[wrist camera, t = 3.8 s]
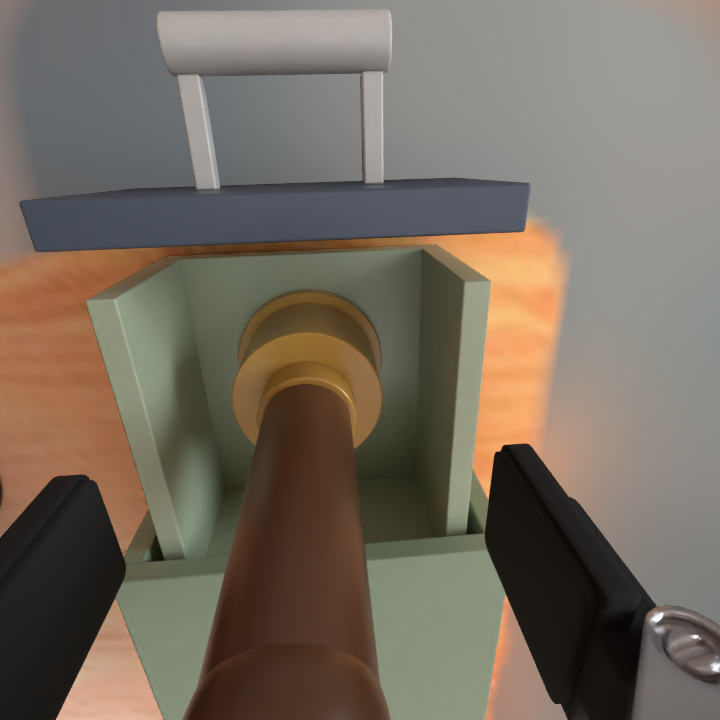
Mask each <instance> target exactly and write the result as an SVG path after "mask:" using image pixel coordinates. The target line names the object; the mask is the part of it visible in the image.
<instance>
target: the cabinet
mask: <svg viewBox="0 0 720 720" xmlns="http://www.w3.org/2000/svg"><path fill="white" fill-rule="evenodd" d="M488 502H489V500H488V498H487V496H486V494H485V492H484V490H483V488H482V486H481V484H480V482H479V480H478V478H477V476H476V474H475V472H474V470H473V469H472V479H471V489H470V499H469V510H468V520H467V530H466V535H459V536H447V537H435V538H424V539H412V540H400V541H389V542H377V543H365V552H366V561H367V570H368V579H369V588H370V597H371V606H372V615H373V624H374V633H375V642H376V651H377V660H378V669H379V678H380V685H381V688H382V690H383V693H384V696H385V699H386V702H387V706H388V709H389V713H390V719H391V720H485V716H486V709H487V703H488V697H489V691H490V685H491V679H492V673H493V667H494V661H495V655H496V649H497V643H498V636H499V630H500V624H501V618H502V612H503V606H504V600H505V594H506V593H505V591H504V588H503V586H502V584H501V581H500V579H499V576H498V574H497V572H496V569H495V567H494V565H493V562H492V560H491V558H490V555H489V553H488V550H487V548H486V544H485V526H486V518H487V510H488ZM228 558H229V555H225V556H213V557H201V558H189V559H178V560H166V561H165V560H164V557H163V554H162V551H161V547H160V544H159V541H158V537H157V534H156V531H155V528H154V524H153V521H152V518H151V515H150V511H149V509H148V511H147V513H146V515H145V517H144V519H143V521H142V523H141V525H140V527H139V529H138V531H137V532H136V534H135V536H134V538H133V540H132V542H131V544H130V546H129V548H128V550H127V552H126V554H125V556H124V560H125V563H126V574H125V578H124V581H123V583H122V585H121V587H120V589H119V591H118V593H117V595H116V600H117V602H118V605H119V607H120V610H121V612H122V615H123V618H124V620H125V623H126V625H127V628H128V630H129V633H130V635H131V638H132V641H133V643H134V646H135V648H136V651H137V653H138V656H139V658H140V661H141V663H142V666H143V669H144V671H145V674H146V676H147V679H148V681H149V684H150V686H151V689H152V692H153V694H154V697H155V699H156V702H157V704H158V707H159V709H160V712H161V715H162V717H163V720H182V719H183V716H184V714H185V712H186V710H187V707H188V705H189V703H190V701H191V699H192V697H193V694H194V693H195V691H196V689H197V685H198V681H199V677H200V673H201V669H202V665H203V660H204V656H205V652H206V648H207V644H208V640H209V636H210V632H211V628H212V623H213V619H214V615H215V611H216V607H217V603H218V599H219V595H220V591H221V586H222V582H223V578H224V574H225V570H226V566H227V562H228Z"/></svg>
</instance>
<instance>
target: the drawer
mask: <svg viewBox="0 0 720 720" xmlns="http://www.w3.org/2000/svg"><path fill="white" fill-rule="evenodd" d="M156 28H157V37H158V42H159V46H160V50H161V54H162V57H163V60H164V62H165V65H166V67H167V69H168V70H169V72H170V73H171V74H172V75H173V76H175V77H177V81H178V87H179V93H180V98H181V104H182V110H183V116H184V121H185V127H186V133H187V139H188V144H189V150H190V156H191V161H192V167H193V172H194V179H195V184H196V187H171V188H141V189H140V188H139V189H127V190H118V191H108V192H99V193H90V194H80V195H71V196H61V197H52V198H42V199H34V200H24V201H21V202H20V207H21V210H22V213H23V216H24V219H25V222H26V225H27V228H28V231H29V234H30V237H31V240H32V243H33V246H34V249H35V251H36V252H60V251H83V250H107V249H131V248H155V247H178V246H202V245H226V244H250V243H274V242H297V241H321V240H345V239H369V238H392V237H416V236H440V235H464V234H488V233H511V232H523V231H524V230H525V225H526V217H527V209H528V201H529V194H530V184H529V183H520V182H506V181H492V180H477V179H463V178H436V179H435V178H434V179H407V180H406V179H405V180H384V162H383V160H384V159H383V73H386V72H388V71H389V68H390V63H391V54H392V19H391V14H390V11H389V10H387V9H373V10H372V9H363V10H362V9H361V10H260V11H259V10H257V11H161V12H159V13H158V14H157V18H156ZM350 73H362V74H361V77H360V88H361V130H362V171H363V181H348V182H347V181H345V182H318V183H317V182H316V183H286V184H257V185H228V186H220V182H219V176H218V169H217V163H216V156H215V149H214V143H213V136H212V130H211V124H210V117H209V110H208V104H207V97H206V91H205V84H204V79H203V78H202V77H201V76H244V75H298V74H350ZM301 289H318V290H325V291H329V292H332V293H335V294H338V295H340V296H342V297H344V298H346V299H348V300H350V301H351V302H353V303H354V304H355V305H357V306H358V307H359V308H360V309H361V310H362V311H363V312H364V313H365V314H366V315H367V317H368V318H369V319H370V321H371V323H372V324H373V326H374V328H375V330H376V333H377V335H378V338H379V342H380V346H381V353H382V364H381V370H380V375H379V378H380V382H381V387H382V394H383V401H382V409H381V414H380V416H379V419H378V422H377V424H376V426H375V427H374V429H373V431H372V432H371V433H370V435H369V436H368V437H367V438H366V439H365V441H364V442H363V443H362V444H360V445H359V446H358V447H357V448H355V449H354V453H355V462H356V471H357V480H358V489H359V498H360V507H361V516H362V525H363V534H364V543H377V542H389V541H400V540H412V539H424V538H435V537H447V536H459V535H466V530H467V520H468V510H469V499H470V489H471V479H472V469H473V459H474V449H475V439H476V429H477V419H478V409H479V399H480V389H481V379H482V369H483V359H484V349H485V339H486V329H487V319H488V309H489V299H490V289H491V281H490V280H489V279H487V278H486V277H484V276H483V275H481V274H480V273H478V272H477V271H475V270H474V269H472V268H471V267H469V266H468V265H466V264H465V263H463V262H462V261H460V260H459V259H457V258H456V257H454V256H453V255H452V254H450V253H449V252H447V251H446V250H444V249H443V248H441V247H439V246H438V245H436V244H435V245H412V246H389V247H366V248H343V249H320V250H297V251H274V252H251V253H228V254H204V255H181V256H165V257H164V258H162V259H160V260H158V261H156V262H154V263H153V264H151V265H149V266H147V267H145V268H144V269H142V270H140V271H138V272H136V273H135V274H133V275H131V276H129V277H127V278H126V279H124V280H122V281H120V282H118V283H117V284H115V285H113V286H111V287H109V288H108V289H106V290H104V291H102V292H100V293H99V294H97V295H95V296H93V297H91V298H90V299H88V300H86V305H87V309H88V312H89V315H90V318H91V322H92V325H93V328H94V331H95V335H96V338H97V341H98V345H99V348H100V351H101V354H102V358H103V361H104V364H105V367H106V371H107V374H108V377H109V381H110V384H111V387H112V390H113V394H114V397H115V400H116V403H117V407H118V410H119V413H120V416H121V420H122V423H123V426H124V430H125V433H126V436H127V439H128V443H129V446H130V449H131V452H132V456H133V459H134V462H135V466H136V469H137V472H138V475H139V479H140V482H141V485H142V488H143V492H144V495H145V498H146V501H147V505H148V508H149V511H150V515H151V518H152V521H153V524H154V528H155V531H156V534H157V537H158V541H159V544H160V547H161V551H162V554H163V557H164V560H165V561H166V560H178V559H189V558H201V557H213V556H225V555H229V553H230V549H231V545H232V541H233V537H234V533H235V529H236V525H237V521H238V516H239V512H240V508H241V504H242V500H243V496H244V492H245V488H246V484H247V479H248V475H249V471H250V467H251V463H252V459H253V455H254V451H255V447H256V445H254V444H253V443H252V442H251V441H250V440H249V439H248V438H247V436H246V435H245V434H244V433H243V431H242V430H241V428H240V426H239V425H238V422H237V420H236V418H235V415H234V411H233V407H232V388H233V383H234V380H235V377H236V374H237V372H238V369H239V365H238V348H239V343H240V339H241V336H242V334H243V331H244V329H245V327H246V325H247V323H248V322H249V320H250V319H251V317H252V316H253V315H254V313H255V312H256V311H257V310H258V309H259V308H260V307H261V306H262V305H264V304H265V303H266V302H268V301H269V300H271V299H273V298H274V297H276V296H278V295H281V294H284V293H286V292H290V291H294V290H301Z"/></svg>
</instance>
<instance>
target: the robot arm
mask: <svg viewBox="0 0 720 720" xmlns="http://www.w3.org/2000/svg"><path fill="white" fill-rule="evenodd" d="M485 544H486V548H487V550H488V553H489V555H490V558H491V560H492V562H493V565H494V567H495V569H496V572H497V574H498V576H499V579H500V581H501V584H502V586H503V588H504V591H505V593H506V595H507V598H508V600H509V602H510V605H511V607H512V610H513V612H514V614H515V617H516V619H517V621H518V624H519V626H520V628H521V631H522V633H523V635H524V638H525V640H526V642H527V645H528V647H529V649H530V652H531V654H532V656H533V659H534V661H535V664H536V666H537V668H538V671H539V673H540V676H541V678H542V680H543V683H544V685H545V687H546V690H547V692H548V694H549V696H550V698H551V700H552V701H553V702H554V703H555V704H561V705H562V707H563V710H564V712H565V714H566V717H567V719H568V720H720V626H719V625H718V624H716V623H715V622H714V621H712V620H711V619H709V618H707V617H705V616H703V615H701V614H699V613H697V612H695V611H692V610H689V609H686V608H683V607H679V606H670V605H664V606H660V607H657V606H656V604H655V603H654V602H653V601H652V600H651V598H650V597H649V595H648V594H647V593H646V591H645V590H644V589H643V587H642V586H641V585H640V583H639V582H638V581H637V579H636V578H635V577H634V575H633V574H632V573H631V571H630V570H629V569H628V567H627V566H626V565H625V563H624V562H623V561H622V560H621V558H620V557H619V556H618V554H617V553H616V552H615V550H614V549H613V548H612V546H611V545H610V544H609V542H608V541H607V540H606V538H605V537H604V536H603V534H602V533H601V532H600V531H599V529H598V528H597V527H596V525H595V524H594V523H593V521H592V520H591V518H590V517H589V516H588V515H587V513H586V512H585V511H584V509H583V508H582V507H581V505H580V504H579V503H578V502H577V501H576V500H575V499H573V498H571V497H568V495H567V494H566V493H565V492H564V490H563V489H562V487H561V486H560V485H559V483H558V482H557V481H556V479H555V478H554V477H553V475H552V474H551V472H550V471H549V470H548V468H547V467H546V466H545V464H544V463H543V462H542V460H541V459H540V458H539V456H538V455H537V453H536V452H535V451H534V449H533V448H532V447H531V446H530V445H529V444H527V443H526V444H512V445H504V446H503V447H502V449H501V451H500V452H496V453H495V456H494V462H493V470H492V478H491V486H490V494H489V502H488V510H487V518H486V526H485ZM125 574H126V563H125V560H124V557H123V554H122V552H121V549H120V546H119V543H118V541H117V538H116V535H115V532H114V529H113V527H112V524H111V521H110V518H109V516H108V513H107V510H106V507H105V505H104V502H103V499H102V496H101V494H100V491H99V488H98V485H97V483H96V482H95V481H92V480H90V479H89V477H87V476H86V475H68V476H57V477H54V478H53V479H52V480H51V481H50V482H49V483H48V484H47V485H46V486H45V488H44V489H43V490H42V491H41V492H40V493H39V494H38V496H37V497H36V498H35V499H34V500H33V501H32V502H31V503H30V505H29V506H28V507H27V508H26V509H25V510H24V511H23V513H22V514H21V515H20V516H19V517H18V518H17V519H16V521H15V522H14V523H13V524H12V525H11V526H10V527H9V529H8V530H7V531H6V532H5V533H4V534H3V535H2V537H1V538H0V720H56V718H57V716H58V714H59V712H60V710H61V708H62V706H63V704H64V702H65V700H66V698H67V696H68V693H69V691H70V689H71V687H72V685H73V683H74V681H75V679H76V677H77V675H78V673H79V671H80V669H81V667H82V665H83V663H84V661H85V659H86V657H87V655H88V652H89V650H90V648H91V646H92V644H93V642H94V640H95V638H96V636H97V634H98V632H99V630H100V628H101V626H102V624H103V622H104V620H105V618H106V616H107V614H108V612H109V609H110V607H111V605H112V603H113V601H114V599H115V597H116V595H117V593H118V591H119V589H120V587H121V585H122V583H123V581H124V578H125Z"/></svg>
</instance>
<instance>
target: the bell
mask: <svg viewBox="0 0 720 720" xmlns="http://www.w3.org/2000/svg"><path fill="white" fill-rule="evenodd" d="M381 364H382V353H381V346H380V342H379V338H378V335H377V333H376V330H375V328H374V326H373V324H372V323H371V321H370V319H369V318H368V317H367V315H366V314H365V313H364V312H363V311H362V310H361V309H360V308H359V307H358V306H357V305H355V304H354V303H353V302H351V301H350V300H348V299H346V298H344V297H342V296H340V295H338V294H335V293H332V292H329V291H325V290H318V289H301V290H294V291H290V292H286V293H284V294H281V295H278V296H276V297H274V298H273V299H271V300H269V301H268V302H266V303H265V304H264V305H262V306H261V307H260V308H259V309H258V310H257V311H256V312H255V313H254V315H253V316H252V317H251V319H250V320H249V322H248V323H247V325H246V327H245V329H244V331H243V334H242V336H241V339H240V343H239V348H238V365H239V369H238V372H237V374H236V377H235V380H234V383H233V388H232V407H233V411H234V415H235V418H236V420H237V422H238V425H239V426H240V428H241V430H242V431H243V433H244V434H245V435H246V436H247V438H248V439H249V440H250V441H251V442H252V443H253V444H254V445H256V447H255V451H254V455H253V459H252V463H251V467H250V471H249V475H248V479H247V484H246V488H245V492H244V496H243V500H242V504H241V508H240V512H239V516H238V521H237V525H236V529H235V533H234V537H233V541H232V545H231V549H230V553H229V558H228V562H227V566H226V570H225V574H224V578H223V582H222V586H221V591H220V595H219V599H218V603H217V607H216V611H215V615H214V619H213V623H212V628H211V632H210V636H209V640H208V644H207V648H206V652H205V656H204V660H203V665H202V669H201V673H200V677H199V681H198V685H197V689H196V691H195V693H194V694H193V697H192V699H191V701H190V703H189V705H188V707H187V710H186V712H185V714H184V716H183V719H182V720H391V719H390V713H389V709H388V706H387V702H386V699H385V696H384V693H383V690H382V688H381V685H380V678H379V669H378V660H377V651H376V642H375V633H374V624H373V615H372V606H371V597H370V588H369V579H368V570H367V561H366V552H365V543H364V534H363V525H362V516H361V507H360V498H359V489H358V480H357V471H356V462H355V453H354V449H355V448H357V447H358V446H359V445H360V444H362V443H363V442H364V441H365V439H366V438H367V437H368V436H369V435H370V433H371V432H372V431H373V429H374V427H375V426H376V424H377V422H378V419H379V416H380V414H381V409H382V401H383V394H382V387H381V382H380V378H379V375H380V370H381Z"/></svg>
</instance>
